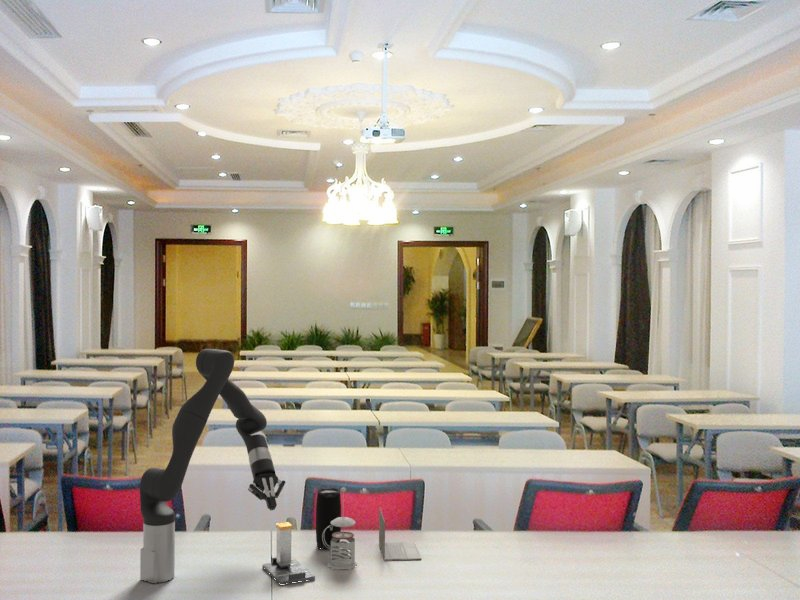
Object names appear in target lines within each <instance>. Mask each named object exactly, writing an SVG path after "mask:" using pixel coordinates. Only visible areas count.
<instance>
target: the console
mask: <svg viewBox="0 0 800 600" xmlns="http://www.w3.org/2000/svg"><path fill="white" fill-rule="evenodd" d="M263 567H264V568H265V570H266V571H267V572H268V573H270V575H271V576H272V577H273V578H275V579H276V581H277V582H278V583H280V584H286V583H292V582H298V581H306V580H313V581H316V576H315V575H314V574H313V573H312V572H310V571H309V569H307V567H305V566H304V565H303V564H302V563H300V562H299V560H297V559H296V558H295V559H294V558H293V559H291V566H290V567H284V568H281V567H280V566H279V565H278V564H277V562H276V557H271V562H269V563H263V564H262V568H263ZM265 570H264V571H265ZM266 571H265V572H266ZM267 572H266V573H267ZM268 573H267V574H268ZM270 575H269V576H270ZM271 576H270V577H271ZM272 577H271V578H272ZM273 578H272V579H273ZM276 581H275V582H276ZM277 582H276V583H277ZM278 583H277V584H278Z"/></svg>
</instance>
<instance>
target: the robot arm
mask: <svg viewBox="0 0 800 600" xmlns="http://www.w3.org/2000/svg"><path fill="white" fill-rule="evenodd" d="M234 365H235V357H234V355H233V353H232V352H231V351H229V350H223V349H215V348H203V349H202V350H200V351H199V352H198V353H197V356H196V359H195V367H196V369H197V371H198V373H199V374H200V375H201V377H203V378H204V380H206V381H205V382H204V384H203V385H202V387H201V388H200V389H198V391H197V392H195V393H194V394H193V395H192V396H191V397H189V398H188V400H186V401H185V402H184V403H183V404H182V406H181V407H180V409H179V411H178V413H177V415H176V417H175V419H174V421H173V424H172V430H171V434H172V435H171V438H172V454H171V457H170V460H169V462H168V464H167V466H166V467H165V468H159V467H150V468H148V469H146V470H145V471H144V473H143V474H142V476H141V478H140V482H139V483H140V484H139V501H140V502H139V504H140V505H139V506H140V513H141V515H142V518H143V520H142V523H143V525H142V526H143V527H142V528H143V529H142V530H143V531H142V532H143V534H142V536H143V538H142V539H143V540H142V541H143V542H142V543H143V544H142V545H143V547H142V548H141V547H140V552H139V553H140V556H139V557H140V558H139V559H140V560H139V561H140V564H139V565H140V571H139V572H140V574H139V577H140V578H139V579H141V580H140V581H143V580H144V582H146V581H148V582H147V583H150V582H151V583H150V584H153V583H155V584H157V582H159V583H164V582H165V583H166V582H168V580H169V581H171V580H173V579H174V577H175V567H176V566H175V564H176V563H175V561H176V558H175V556H176V555H175V553H176V552H175V551H176V550H175V547H176V546H175V545H176V543H175V542H176V540H175V539H176V537H175V536H176V534H175V533H176V531H175V530H176V513H175V511H174V510H173V508H171V506H169V505H168V504H167V502H170V501H172V500H174V499H175V498H176V497H177V496H178V494H179V492H180V491H181V488H182V485H183V484H184V480H185V476H186V473H187V471H188V467H189V464H190V461H191V459H192V456H193V454H194V451H195V449H196V447H197V444H198V441H199V439H200V438H201V436H202V434H203V431H204V429H205V426H206V425H207V422H208V419H209V417H210V414H211V412H212V410H213V408H214V406H215V404H216V402H217V400H218V397H221V398H222V400H223V402H225V404H226V405H227V407H228V408H229V410H230V411H231V413H232V415H233V416H234V418H236V419H237V420H236V422H235V429H236V431H237V432H238V434H239V436H240V437H241V439H242V440H243V442H244V445H245V446H246V451H247V455H248V462H249V467H250V470H251V474H252V478H253V481H252V483H250V484H249V486H248V491H249V492H250V493H251V494H252V495H254V496H255V497H256V498H257V499H258V500H260V501H265V503H266V507H267V509H269V511H275V509H277V505H278V503H277V500H276V499H278V497H280V494H281V493H282V491H283V489H284V487H285V484H286V480H280V479H279V477H278V475H277V474H276V469H275V467H274V463H273V460H272V459H273V458H272V455H271V452H270V451H269V450H270V449H269V447H268V443H267V440H266V437H265V436H264V435H263V434H256V433H259V432H262V431H263V430H265V429H266V427H267V423H268V422H267V418H266V416H265V414H264V413H262V411H261V410H259V409H258V408H257V407H256V406H254V405H253V404H252V403H251V402H250V399H249V397H248V396H247V394H246V393H245V392H244V391H243V390H242V389H241V387H239V386H238V385H237V384H236V383H234V382H233V381H232V380H230V378H229V377H230V376H231V375H232V373H233V372H232V371H233V369H234ZM276 485H277V490H276V492H275V487H276ZM172 578H173V579H172Z"/></svg>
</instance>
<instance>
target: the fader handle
mask: <svg viewBox="0 0 800 600" xmlns="http://www.w3.org/2000/svg"><path fill="white" fill-rule="evenodd" d="M275 528H276V562H277V564H278V565H279V566H280V567H281V568H284V567H290V566H291V560H292V530H293V525H292V524H291V523H290V522H289V521H287V522H286V521H285V522H280V523H279V522H277V523H275Z"/></svg>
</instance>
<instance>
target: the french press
mask: <svg viewBox="0 0 800 600" xmlns="http://www.w3.org/2000/svg"><path fill="white" fill-rule="evenodd" d="M341 492H342V516H341V517H338V518H336V519H334V520H332V521H331V524H332V525H333V526H336V527H341V528H349V527H353V526H355V525H356V522H357V521H355V520H354V519H353V518H351V517H347V516H344V508H345V507H344V505H345V504H344V501H345V499H344V498H345V496H344V494H345V492H347V488H346V487H341V488H340V493H341ZM332 525H330V526H332ZM330 526H328V527H327V528H329V527H330ZM333 526H332V529H333ZM327 528H326V529H327ZM326 529H325V530H324V531H323V533H325V531H326ZM332 529H331V527H330V530H332ZM354 536H355V534H354V533H353V532H350V531H344V530H341V532H335V533H333V534H332V537H333V538H332V541H331V548H329V547H330V546H329V545H328V544H327V543H326V541H325V538H324V541H325V543H326V545H327V546H329V547H326V545H325V544H324V542H323V544H324V545H325V547H324V548H327V549H328V550H329V556H330V557H329V562H328V563H327V565H328V566H329V567H331V568H333V569H332V570H335V569H349V570H352V569H351V568H353V569H355V568H356V567H355V566H357V564H358V563H357V561H356V559H355V558H356V557H355V554H356V550H355V549H356V547H355V546H356V539H355V538H354ZM338 540H340V542H338V543H337V541H338ZM344 540H346V541H344ZM322 541H323V534H322ZM337 546H338V547H337ZM328 566H327V567H328ZM329 567H328V568H329ZM354 567H355V568H354ZM357 567H358V566H357ZM331 568H330V569H331Z"/></svg>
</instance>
